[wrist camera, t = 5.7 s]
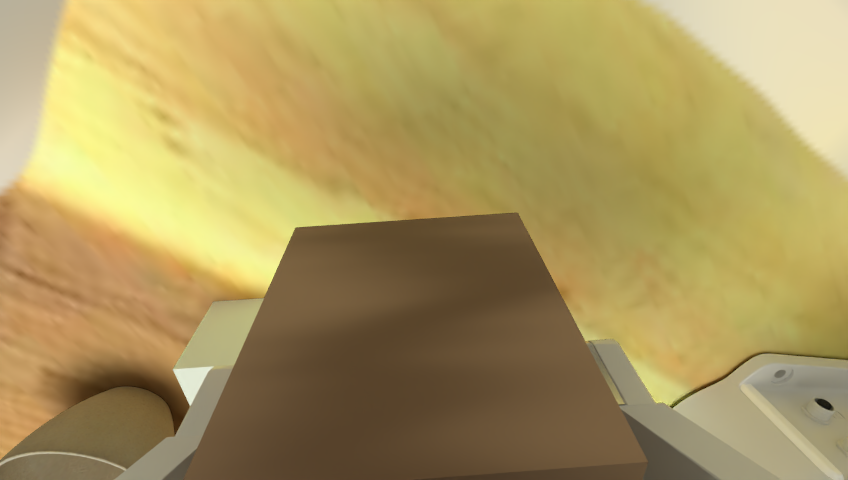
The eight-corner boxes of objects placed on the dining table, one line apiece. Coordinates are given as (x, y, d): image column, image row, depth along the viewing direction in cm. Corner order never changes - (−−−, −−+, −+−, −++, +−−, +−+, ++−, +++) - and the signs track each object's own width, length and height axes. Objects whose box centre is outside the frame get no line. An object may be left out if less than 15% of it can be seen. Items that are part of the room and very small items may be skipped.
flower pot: (221, 444, 36) (184, 539, 29) (98, 454, 36) (35, 552, 29) (180, 354, 31) (124, 446, 24) (36, 366, 31) (-56, 462, 24)
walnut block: (517, 212, 10) (648, 461, 5) (507, 371, 12) (586, 649, 7) (295, 227, 10) (175, 497, 5) (331, 384, 12) (279, 674, 7)
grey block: (320, 292, 29) (303, 359, 24) (336, 369, 32) (324, 441, 27) (213, 300, 29) (172, 369, 23) (241, 376, 32) (211, 450, 27)
